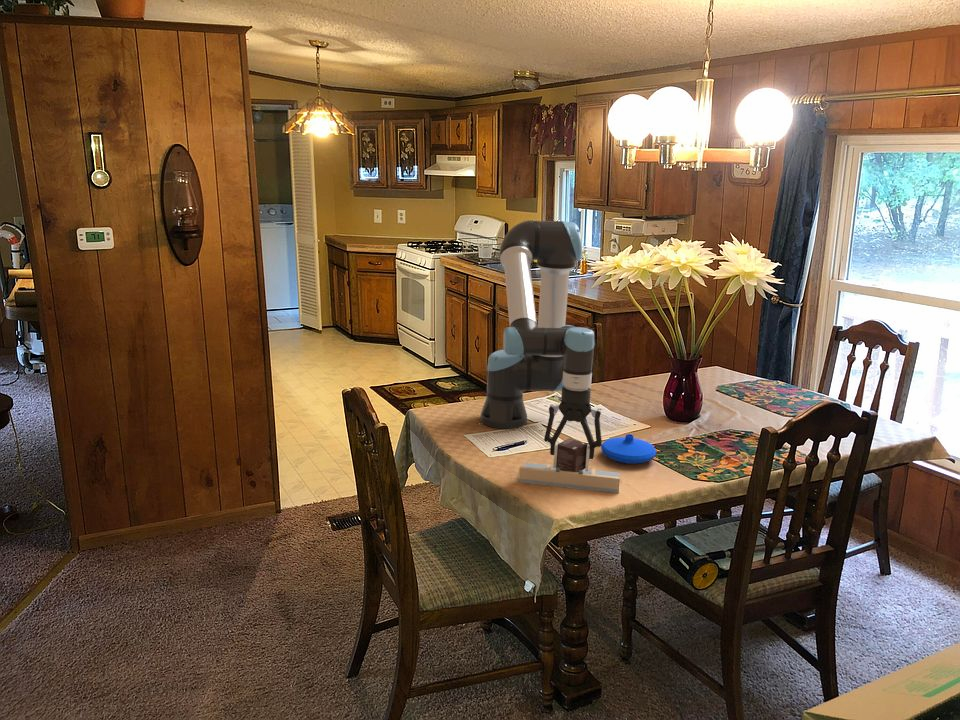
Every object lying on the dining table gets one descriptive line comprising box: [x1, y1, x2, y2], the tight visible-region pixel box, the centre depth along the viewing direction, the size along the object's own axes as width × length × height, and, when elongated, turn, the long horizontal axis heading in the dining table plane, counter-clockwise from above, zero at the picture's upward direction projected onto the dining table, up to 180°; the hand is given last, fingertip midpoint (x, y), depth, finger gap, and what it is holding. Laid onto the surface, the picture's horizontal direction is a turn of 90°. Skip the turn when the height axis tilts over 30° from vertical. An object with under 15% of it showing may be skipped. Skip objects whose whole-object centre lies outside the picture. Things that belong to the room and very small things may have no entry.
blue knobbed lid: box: [600, 433, 657, 465], centre depth 216 cm, size 16×16×7 cm
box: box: [556, 437, 589, 472], centre depth 201 cm, size 6×6×7 cm
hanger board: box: [518, 462, 621, 494], centre depth 200 cm, size 11×26×5 cm, turn 78°
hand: (571, 467), depth 202 cm, fingers closed on box, 8 cm apart
